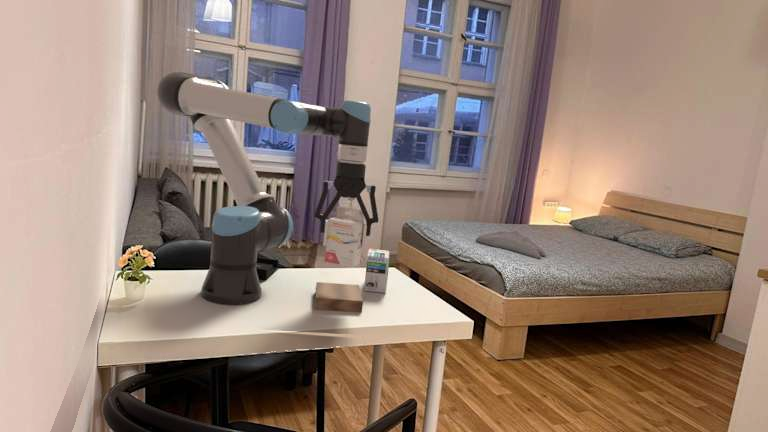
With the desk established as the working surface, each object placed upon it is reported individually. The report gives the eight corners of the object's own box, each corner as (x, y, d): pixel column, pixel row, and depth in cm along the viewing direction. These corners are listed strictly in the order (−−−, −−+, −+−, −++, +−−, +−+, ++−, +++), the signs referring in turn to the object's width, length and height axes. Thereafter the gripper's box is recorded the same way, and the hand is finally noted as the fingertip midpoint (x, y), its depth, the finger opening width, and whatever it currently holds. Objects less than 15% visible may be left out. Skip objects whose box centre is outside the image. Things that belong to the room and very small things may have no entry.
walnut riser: (315, 309, 134) (316, 298, 134) (315, 292, 148) (316, 282, 147) (361, 312, 136) (363, 301, 135) (357, 295, 149) (358, 285, 149)
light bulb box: (386, 293, 154) (389, 258, 152) (363, 291, 154) (366, 255, 152) (386, 283, 164) (390, 250, 163) (365, 281, 164) (368, 247, 163)
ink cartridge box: (323, 261, 139) (328, 207, 137) (331, 258, 144) (336, 205, 141) (353, 267, 136) (358, 211, 134) (360, 263, 141) (365, 209, 139)
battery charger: (265, 283, 152) (266, 270, 152) (233, 279, 153) (234, 265, 152) (278, 272, 165) (279, 259, 165) (248, 268, 166) (249, 256, 165)
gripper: (308, 158, 131) (301, 246, 134) (395, 167, 134) (386, 252, 137) (308, 157, 138) (302, 240, 141) (391, 165, 141) (383, 246, 144)
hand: (343, 246), depth 139 cm, fingers closed on ink cartridge box, 9 cm apart
